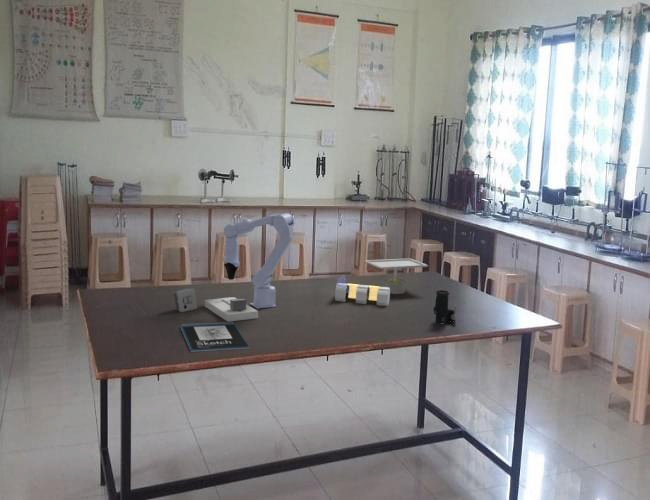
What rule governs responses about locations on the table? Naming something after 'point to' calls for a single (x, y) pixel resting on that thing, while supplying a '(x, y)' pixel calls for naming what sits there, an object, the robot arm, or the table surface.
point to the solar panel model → (395, 271)
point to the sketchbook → (213, 337)
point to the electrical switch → (185, 300)
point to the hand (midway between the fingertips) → (230, 279)
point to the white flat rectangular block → (224, 311)
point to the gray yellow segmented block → (361, 292)
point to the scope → (443, 308)
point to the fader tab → (237, 304)
